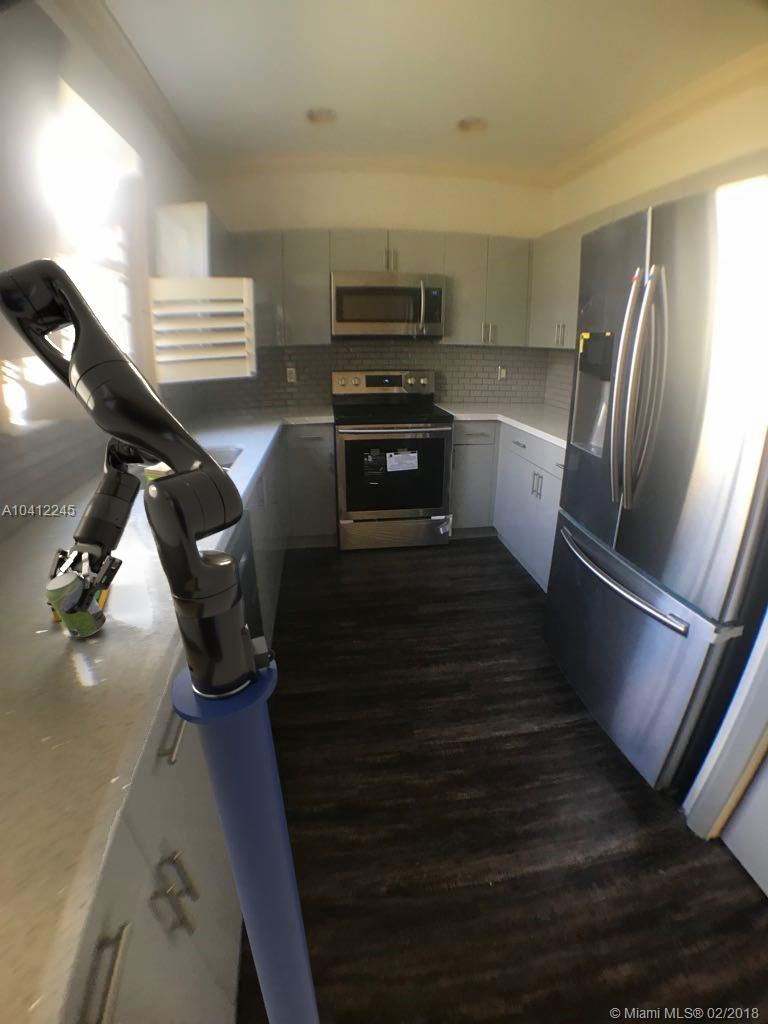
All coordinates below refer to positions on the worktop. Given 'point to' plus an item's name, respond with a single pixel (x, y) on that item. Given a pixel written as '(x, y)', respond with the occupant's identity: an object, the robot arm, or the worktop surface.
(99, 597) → the sponge
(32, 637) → the worktop surface
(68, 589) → the beverage can
